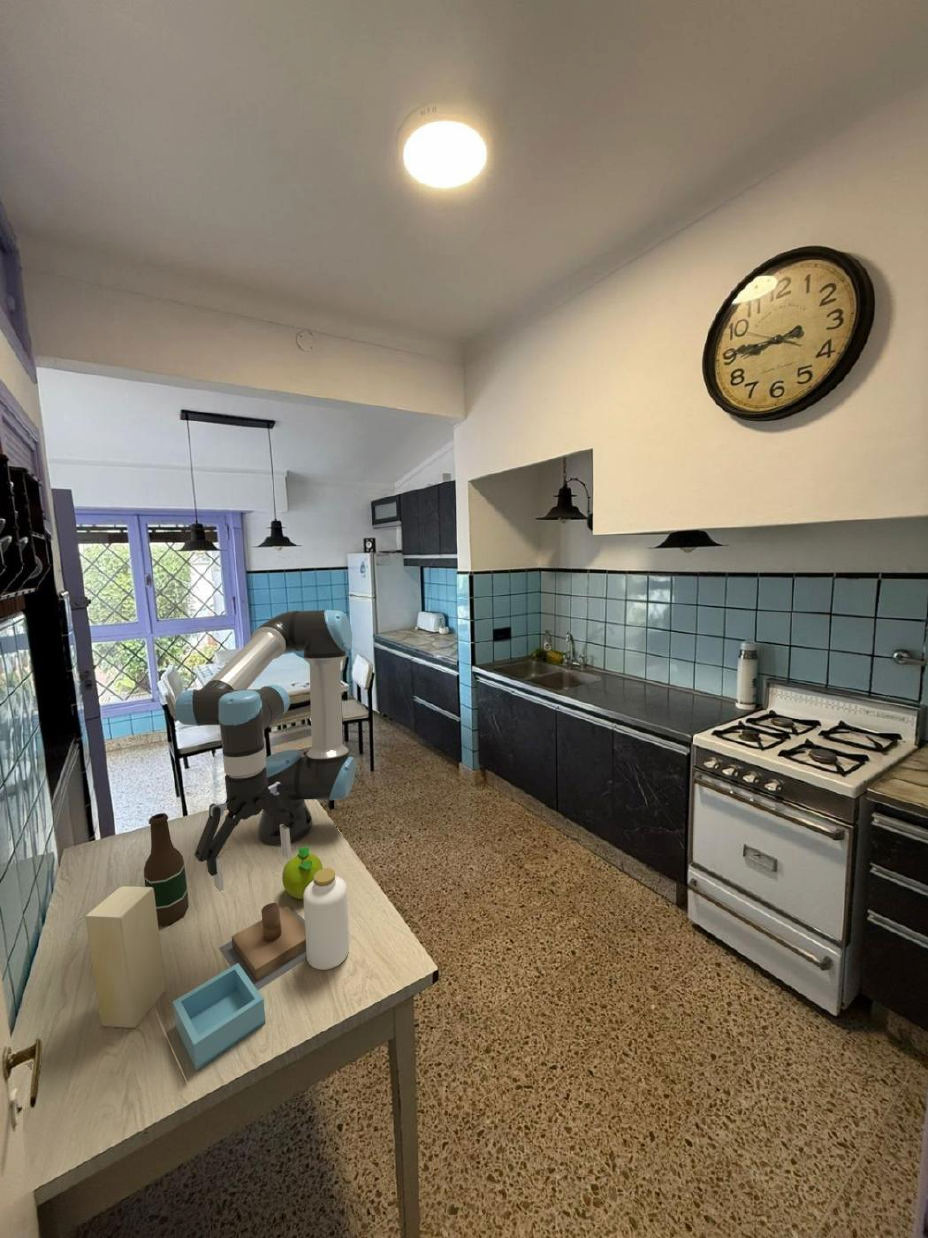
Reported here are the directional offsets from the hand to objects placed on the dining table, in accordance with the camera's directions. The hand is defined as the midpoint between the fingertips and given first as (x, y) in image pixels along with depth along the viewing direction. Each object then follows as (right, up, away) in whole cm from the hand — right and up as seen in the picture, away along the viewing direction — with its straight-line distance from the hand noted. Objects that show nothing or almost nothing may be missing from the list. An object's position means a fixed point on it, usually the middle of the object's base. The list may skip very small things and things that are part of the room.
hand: (254, 871), depth 100 cm
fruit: (+4, -15, +19) cm, 24 cm away
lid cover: (+3, -17, +3) cm, 17 cm away
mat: (+3, -17, +3) cm, 18 cm away
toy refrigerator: (-18, -20, -10) cm, 28 cm away
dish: (0, -20, -14) cm, 24 cm away
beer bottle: (-25, -17, +13) cm, 32 cm away
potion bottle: (+15, -17, 0) cm, 23 cm away
